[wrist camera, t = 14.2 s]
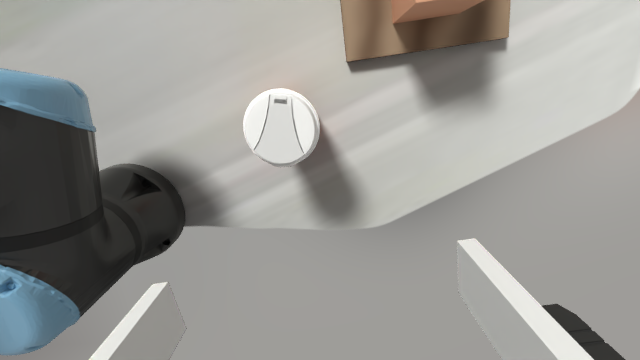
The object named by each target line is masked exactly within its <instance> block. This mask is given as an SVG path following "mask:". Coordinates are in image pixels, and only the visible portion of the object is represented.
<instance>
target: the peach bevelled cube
mask: <svg viewBox="0 0 640 360" xmlns="http://www.w3.org/2000/svg"><path fill="white" fill-rule="evenodd" d="M482 1H484V0H391V3H392V21H393V24H396V23H402V22H408V21H415V20H421V19H427V18H434V17H440V16H447V15H453V14H459V13H461V12H463V11H465V10H467V9H469V8H471V7H472V6H474V5H476V4H478V3H480V2H482Z"/></svg>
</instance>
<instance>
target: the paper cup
mask: <svg viewBox="0 0 640 360" xmlns="http://www.w3.org/2000/svg"><path fill="white" fill-rule="evenodd" d="M243 129H244V135H245V139H246V141H247V143H248V145H249V147H250V148H251V150H252V151H253V152H254V153H255V154H256V155H257V156H258V157H259V158H261V159H262V160H264V161H266V162H268V163H270V164H272V165H273V166H277V167H289V166H293V165H295V164H297V163H299V162H301V161H302V160H304V159H305V158H307V157H308V156H309V155H310V154H311V153H312V151H313V150H314V149H315V147H316V145H317V142H318V139H319V134H320V123H319V118H318V115H317V113H316V111H315V109H314V107H313V106H312V104H311V103H310V102H309V101H308V100H307V99H306V98H305V97H304V96H302V95H301V94H299V93H297V92H295V91H292V90H289V89H271V90H268V91H265V92H263V93H261V94H260V95H258V96H257V97H256V98H255V99H254V100H253V101H252V102H251V103H250V105H249V106H248V108H247V110H246V113H245V116H244V121H243Z"/></svg>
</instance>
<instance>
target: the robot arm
mask: <svg viewBox="0 0 640 360" xmlns="http://www.w3.org/2000/svg"><path fill="white" fill-rule="evenodd" d="M94 132H96V128H95V126H93V124H92V119H91V114H90V108H89V103H88V98H87V96H86V94H85V93H84V91H83V90H82V89H81V88H80V87H79V86H77V85H76V84H74V83H72V82H70V81H68V80H64V79H59V78H54V77H49V76H43V75H37V74H32V73H26V72H20V71H14V70H8V69H2V68H0V355H20V354H25V353H29V352H32V351H35V350H38V349H40V348H42V347H44V346H45V345H47V344H48V343H50V342H51V341H52V340H53V339H55V338H56V337H57V336H58V335H59V334H60V333H62V332H63V331H64V330H65V329H66V328H67V327H69V326H71V325H73V324H75V323H76V322H77V321H78V319H79V318H80V317H81V316H82V315H83V314H84V313H85V312H86V311H87V310H88V309H89V308H90V307H91V306H92V305H93V304H94V303H95V302H96V301H97V300H98V299H99V298H100V297H101V296H102V295H103V294H104V293H106V292H107V291H108V290H109V289H110V287H112V286H113V285H114V284H115V283H116V282H117V281H118V280H119V279H120V278H121V277H122V276H123V275H124V274H125V273H126V272H127V271H128V270H129V269H130V268H131V267H132V266H133V265H136V264H138V263H140V262H143V261H145V260H148V259H150V258H153V257H155V256H157V255H159V254H161V253H163V252H164V251H166V250H167V249H168V248H169V247H170V246H171V245H172V244H173V243H174V242H175V241H176V240H177V239H178V237H179V236H180V234H181V232H182V230H183V227H184V222H185V211H184V206H183V203H182V200H181V198H180V196H179V194H178V193H177V191H176V190H175V188H174V187H173V186H172V185H171V184H170V182H169V181H167V180H166V179H165V178H164V177H163V176H161V175H160V174H158V173H157V172H155V171H153V170H151V169H149V168H146V167H144V166H140V165H135V164H119V165H114V166H111V167H109V168H106V169H104V170H101V171H99V167H98V159H97V150H96V142H95V133H94ZM457 254H458V255H457V259H458V293H459V294H460V296H461V298H462V299H463V300H464V302H465V304H466V305H467V307H468V308H469V310H470V311H471V313H472V315H473V316H474V318H475V319H476V321H477V322H478V323H479V325H480V327H481V329H482V330H483V332H484V333H485V335H486V336H487V338H488V339H489V341H490V342H491V344H492V345H493V347H494V349H495V350H496V352H497V353H498V355H499V356H500V358H501V359H502V360H625V359H624V358H623V357H622V356H621V355H620V354H619V353H617V352H616V351H615V350H614V349H613V348H612V347H611V346H610V345H609V344H607V343H605V342H604V340H603V339H602V338H601V337H600V336H599V335H598V334H597V333H596V332H594V331H592V330H591V328H590V327H589V326H588V325H587V324H586V323H585V322H584V321H582V320H581V319H580V318H579V317H578V316H577V315H576V314H574V313H572V312H570V311H569V310H567V309H565V308H563V307H562V306H560V305H558V304H553V305H544V306H541V305H540V304H539V303H538V302H537V301H536V300H535V299H534V298H533V297H532V296H531V295H530V294H529V293H528V292H527V291H526V290H525V289H524V288H523V287H522V286H521V285H520V284H519V283H518V282H517V281H516V280H515V279H514V278H513V277H512V276H511V275H510V274H509V273H508V272H507V271H506V270H505V269H504V267H502V265H501V264H500V263H499V262H497V260H496V259H495V258H494V257H493V256H492V255H491V254H490V253H489V252H488V251H487V250H486V249H485V248H484V247H483V246H482V245H481V244H480V243H479V242H478V241H477V240H476V239H475V238H474V239H467V240H460V241H457ZM185 330H186V326H185V324H184V321H183V318H182V316H181V313H180V311H179V308H178V306H177V303H176V300H175V298H174V296H173V293H172V290H171V288H170V285H169V283H168V282H163V283H156V284H152V285H151V287H149V289H148V290H147V291H146V292H145V294H144V295H143V296H142V297H141V298H140V299H139V301H138V302H137V303H136V304H135V305H134V307H133V308H132V309H131V310H130V311H129V312H128V314H127V315H126V316H125V317H124V318H123V320H122V321H121V322H120V323H119V324H118V325H117V327H116V328H115V329H114V330H113V331H112V333H111V334H110V335H109V336H108V337H107V339H106V340H105V341H104V342H103V343H102V344H101V346H100V347H99V348H98V349H97V351H96V352H95V353H94V354H93V355H92V356H91V358H90V359H89V360H169V359H170V358H171V356H172V354H173V352H174V350H175V349H176V347H177V345H178V343H179V341H180V339H181V338H182V336H183V334H184V332H185Z"/></svg>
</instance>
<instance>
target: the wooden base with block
mask: <svg viewBox="0 0 640 360" xmlns="http://www.w3.org/2000/svg"><path fill="white" fill-rule="evenodd" d="M340 3H341V12H342V22H343V32H344V41H345V51H346V61H347V62H351V61H357V60H364V59H371V58H377V57H384V56H391V55H397V54H404V53H411V52H417V51H424V50H431V49H437V48H444V47H451V46H457V45H464V44H471V43H477V42H484V41H491V40H497V39H503V38H507V37H509V18H510V0H484V1H482V2H480V3H478V4H476V5H474V6H472V7H471V8H469V9H467V10H465V11H463V12H461V13H459V14H453V15H447V16H440V17H434V18H427V19H421V20H415V21H408V22H402V23H396V24H393V21H392V3H391V0H340Z"/></svg>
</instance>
